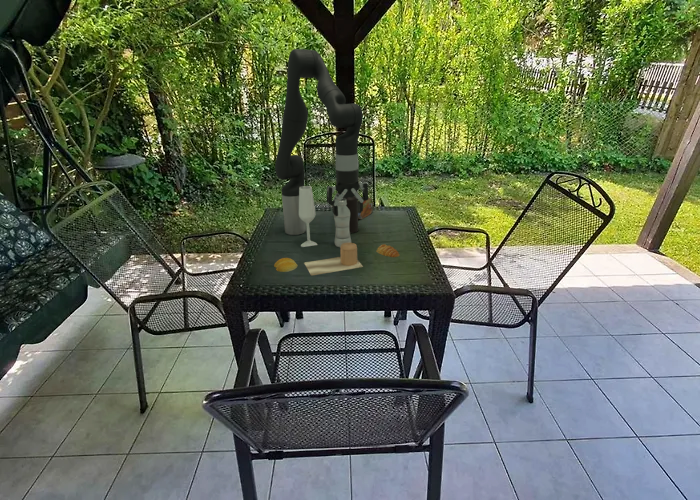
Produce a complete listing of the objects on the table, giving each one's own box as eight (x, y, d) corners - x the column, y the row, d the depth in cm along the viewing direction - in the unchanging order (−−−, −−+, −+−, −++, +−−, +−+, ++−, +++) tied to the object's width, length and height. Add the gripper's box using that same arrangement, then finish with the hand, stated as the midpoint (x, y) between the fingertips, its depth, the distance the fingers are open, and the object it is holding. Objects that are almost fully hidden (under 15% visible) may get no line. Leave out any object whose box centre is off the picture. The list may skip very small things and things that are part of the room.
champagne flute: (297, 246, 173) (293, 188, 163) (306, 240, 178) (303, 184, 169) (311, 249, 170) (308, 190, 160) (320, 243, 175) (317, 186, 166)
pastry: (404, 258, 161) (404, 249, 160) (391, 263, 157) (391, 254, 156) (386, 250, 168) (386, 241, 166) (374, 255, 164) (374, 246, 162)
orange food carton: (357, 221, 199) (357, 204, 195) (352, 220, 200) (351, 203, 197) (374, 212, 210) (374, 196, 207) (368, 211, 212) (368, 195, 209)
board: (304, 266, 156) (303, 262, 155) (353, 258, 161) (353, 254, 161) (311, 279, 146) (311, 275, 146) (363, 270, 152) (363, 266, 151)
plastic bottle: (349, 251, 167) (348, 202, 159) (332, 250, 168) (331, 201, 160) (352, 245, 173) (352, 197, 165) (336, 244, 174) (335, 197, 166)
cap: (338, 260, 156) (338, 243, 154) (353, 257, 158) (353, 241, 156) (343, 266, 151) (343, 249, 149) (359, 264, 153) (359, 247, 150)
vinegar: (361, 231, 187) (360, 186, 179) (348, 234, 184) (347, 189, 176) (352, 226, 192) (351, 183, 184) (339, 230, 189) (338, 186, 181)
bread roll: (277, 277, 148) (276, 267, 147) (272, 267, 156) (271, 257, 154) (301, 273, 151) (300, 263, 149) (294, 263, 159) (293, 253, 157)
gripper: (363, 163, 146) (363, 208, 153) (323, 167, 142) (325, 213, 149) (371, 168, 140) (371, 214, 146) (329, 172, 136) (331, 220, 142)
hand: (347, 214), depth 147 cm, fingers open, 8 cm apart
